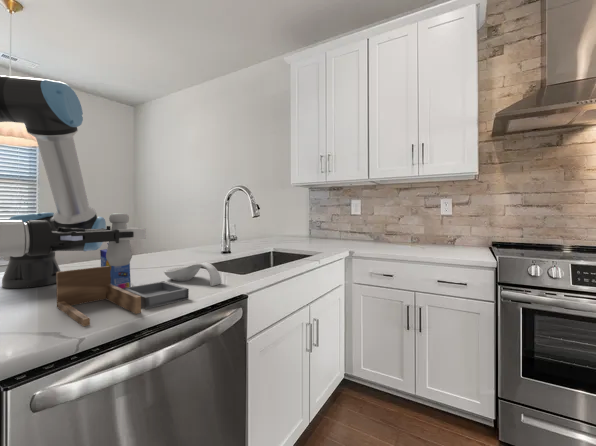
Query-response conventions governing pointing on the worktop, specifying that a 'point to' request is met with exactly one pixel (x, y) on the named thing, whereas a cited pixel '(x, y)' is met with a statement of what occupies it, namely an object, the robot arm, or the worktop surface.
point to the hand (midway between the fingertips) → (141, 233)
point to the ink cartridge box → (117, 272)
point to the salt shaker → (119, 251)
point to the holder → (91, 292)
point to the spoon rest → (194, 273)
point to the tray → (159, 293)
